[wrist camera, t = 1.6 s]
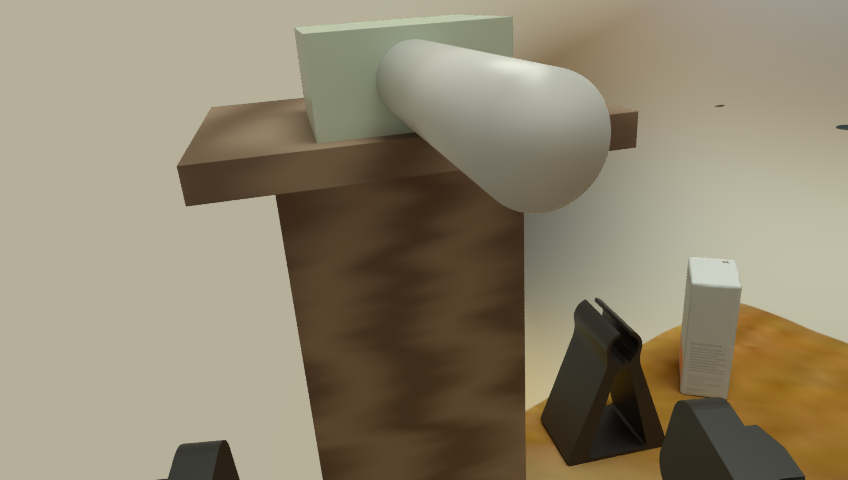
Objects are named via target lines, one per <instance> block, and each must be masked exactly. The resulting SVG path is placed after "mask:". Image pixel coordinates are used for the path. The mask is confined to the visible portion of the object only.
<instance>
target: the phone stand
mask: <svg viewBox="0 0 848 480" xmlns="http://www.w3.org/2000/svg"><path fill="white" fill-rule="evenodd" d="M595 302H597V304H599V306H600V307H602V308H603V314H602V315H601V314H600V313H599V312H598V311H597V310H596V309H595V308H594V307H593V306H592V305H591V304H590V303H589V302H588V301H587V300H584V301H582V302H581V303H580V304H579V305H578V306H577V308H576V310H575V312H574V321H575V329H574V334H573V337H572V339H571V342H570V344H569V347H568V349H567V352H566V355H565V357H564V360H563V362H562V365H561V367H560V370H559V373H558V375H557V378H556V381H555V383H554V386H553V388H552V391H551V393H550V396H549V398H548V401H547V403H546V406H545V409H544V411H543V414H542V416H541V421H542V422H543V424H544V425H545V427H546V429H547V430H548V432H549V434H550V435H551V437H552V439H553V440H554V442H555V443H556V445H557V447H558V448H559V450H560V452H561V453H562V455H563V457H564V458H565V460H566V461H567V463H568V465H569V466H573V465H578V464H583V463H587V462H592V461H597V460H601V459H606V458H611V457H616V455H617V454H619V455H625V454H630V453H634V452H639V451H644V450H648V449H653V448H658V447H662V444H663V441H664V438H665V436H664V433H663V430H662V427H661V424H660V421H659V418H658V415H657V412H656V409H655V406H654V403H653V400H652V397H651V394H650V391H649V388H648V386H647V383H646V380H645V377H644V374H643V371H642V368H641V364H640V353H641V349H642V340H641V338H640V336H639V335H638V334H637V333H636V332H635V331H634V330H633V329H632V328H631V327H629V326H628V325H627V324H626V323H625V322H624V321H623V320H622V319H621V318H620V317H619V316H618V315H617V314H616V313H615V312H613V311H612V310H611V309H610V308H609V307H608V306H607V305H606V304H605V303H604V302H603V301H602V300H600V299H598V298H595ZM609 393H611V397H612V401H613V402H612V404H611V405H607V406H605V405H606V402H607V399H608V396H609Z"/></svg>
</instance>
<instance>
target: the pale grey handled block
mask: <svg viewBox="0 0 848 480" xmlns="http://www.w3.org/2000/svg"><path fill="white" fill-rule="evenodd" d="M294 30H295V36H296V44H297V51H298V58H299V65H300V72H301V80H302V87H303V94H304V101H305V108H306V113H307V116H308V119H309V122H310V124H311V127H312V130H313V133H314V136H315V139H316V141H317V144H319V143H328V142H336V141H345V140H353V139H362V138H371V137H379V136H388V135H396V134H405V133H413V132H416V133H417V134H418V135H420V136H421V137H422V138H423V139H424V140H425V141H427V142H428V143H429V144H430V145H431V146H432V147H434V148H435V149H436V150H437V151H438V152H440V153H441V154H442V155H443V156H444V157H445V158H447V159H448V160H449V161H450V162H451V163H453V164H454V165H455V166H456V167H457V168H458V169H460V170H461V171H462V172H463V173H464V174H466V175H467V176H468V177H469V178H470V179H471V180H473V181H474V182H475V183H476V184H477V185H479V186H480V187H481V188H482V189H483V190H484V191H486V192H487V193H488V194H489V195H490V196H492V197H493V198H494V199H495V200H496V201H498V202H499V203H501V204H502V205H504V206H506V207H508V208H509V209H512V210H515V211H518V212H523V213H535V214H536V213H545V212H549V211H553V210H556V209H559V208H561V207H564V206H566V205H567V204H569V203H571V202H572V201H574V200H575V199H577V198H578V197H579V196H581V195H582V194H583V193H584V192H585V191H586V190H587V189H588V188H589V187H590V186H591V184H592V183H593V182H594V181H595V179H596V178H597V176H598V175H599V173H600V171H601V169H602V167H603V165H604V163H605V160H606V158H607V155H608V151H609V147H610V140H611V123H610V116H609V112H608V109H607V106H606V104H605V101H604V99H603V97H602V96H601V94H600V92H599V91H598V90H597V89H596V87H595V86H594V85H593V84H592V83H591V82H590V81H589V80H587V79H586V78H585V77H583V76H582V75H580V74H578V73H576V72H574V71H571V70H568V69H564V68H559V67H555V66H550V65H545V64H540V63H535V62H530V61H525V60H520V59H515V58H513V17H510V16H509V17H508V16H507V17H506V16H478V15H446V16H433V17H420V18H407V19H395V20H382V21H370V22H357V23H345V24H332V25H320V26H309V27H295V28H294Z"/></svg>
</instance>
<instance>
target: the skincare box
mask: <svg viewBox="0 0 848 480" xmlns="http://www.w3.org/2000/svg"><path fill="white" fill-rule="evenodd" d="M741 290H742V286H741V282H740V278H739V272H738V270H737V266H736V262H735V261H734V260H727V259H713V258H699V257H689V259H688V270H687V279H686V290H685V300H684V311H683V321H682V331H681V341H680V351H679V368H680V392H681V393H682V394H688V395H696V396H703V397H710V398H714V397H721V398H723V399H727V396H728V389H729V381H730V373H731V366H732V358H733V351H734V344H735V336H736V329H737V321H738V314H739V305H740V297H741Z"/></svg>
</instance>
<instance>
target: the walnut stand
mask: <svg viewBox="0 0 848 480" xmlns="http://www.w3.org/2000/svg"><path fill="white" fill-rule="evenodd" d="M605 104H606V106H607V109H608V112H609V116H610V123H611V140H610V147H609V151H612V150H620V149H627V148H635V147H636V138H637V122H638V111H635V110H632V109H628V108H624V107H621V106H617V105H614V104H610V103H606V102H605ZM177 169H178V173H179V178H180V182H181V187H182V191H183V195H184V200H185V204H186V206H193V205H201V204H208V203H216V202H224V201H231V200H239V199H247V198H254V197H262V196H269V195H276V201H277V207H278V212H279V219H280V225H281V230H282V237H283V243H284V249H285V255H286V261H287V267H288V273H289V278H290V285H291V291H292V296H293V302H294V308H295V315H296V321H297V327H298V333H299V339H300V345H301V351H302V356H303V363H304V369H305V375H306V381H307V387H308V393H309V399H310V405H311V410H312V417H313V423H314V429H315V435H316V441H317V447H318V452H319V459H320V465H321V471H322V476H323V480H526V457H525V331H524V330H525V329H524V327H525V326H524V213H523V212H518V211H515V210H512V209H509V208H508V207H506V206H504V205H502V204H501V203H499V202H498V201H496V200H495V199H494V198H493V197H492V196H490V195H489V194H488V193H487V192H486V191H484V190H483V189H482V188H481V187H480V186H479V185H477V184H476V183H475V182H474V181H473V180H471V179H470V178H469V177H468V176H467V175H466V174H464V173H463V172H462V171H461V170H460V169H458V168H457V167H456V166H455V165H454V164H453V163H451V162H450V161H449V160H448V159H447V158H445V157H444V156H443V155H442V154H441V153H440V152H438V151H437V150H436V149H435V148H434V147H432V146H431V145H430V144H429V143H428V142H427V141H425V140H424V139H423V138H422V137H421V136H420V135H418V134H417V133H416V132H413V133H405V134H396V135H388V136H379V137H371V138H362V139H353V140H345V141H336V142H328V143H319V144H317V141H316V139H315V136H314V133H313V130H312V127H311V124H310V122H309V119H308V116H307V113H306V108H305V101H304V98H298V99H288V100H278V101H269V102H259V103H249V104H241V105H240V104H239V105H230V106H220V107H211V109H210V111H209V112H208V114H207V116H206V118H205V119H204V121H203V123H202V124H201V126H200V128H199V129H198V131H197V133H196V135H195V136H194V138H193V140H192V141H191V143H190V145H189V147H188V148H187V150H186V151H185V153H184V155H183V157H182V158H181V160H180V162H179V164H178V165H177Z"/></svg>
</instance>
